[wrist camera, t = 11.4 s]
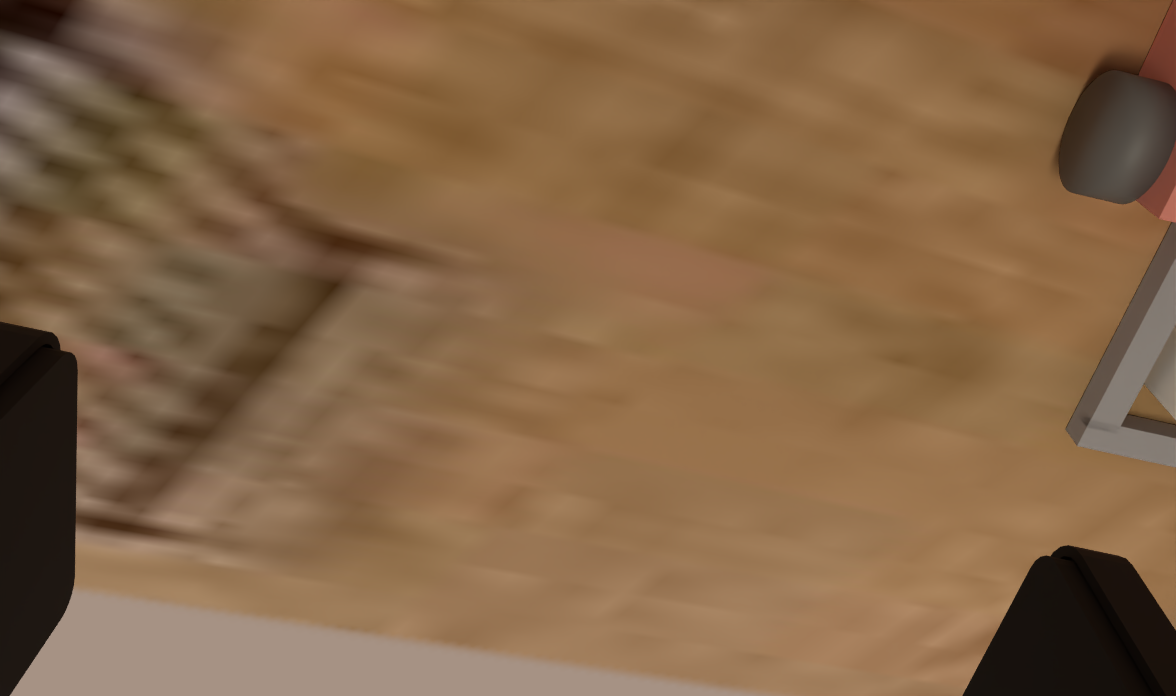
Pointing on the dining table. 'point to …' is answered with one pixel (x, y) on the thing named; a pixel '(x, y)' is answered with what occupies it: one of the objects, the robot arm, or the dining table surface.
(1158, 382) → the stepped cream block
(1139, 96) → the pink toy truck
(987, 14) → the dining table surface
